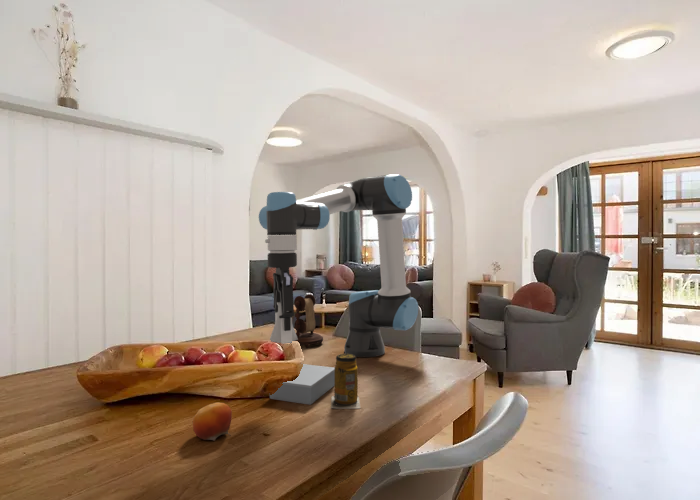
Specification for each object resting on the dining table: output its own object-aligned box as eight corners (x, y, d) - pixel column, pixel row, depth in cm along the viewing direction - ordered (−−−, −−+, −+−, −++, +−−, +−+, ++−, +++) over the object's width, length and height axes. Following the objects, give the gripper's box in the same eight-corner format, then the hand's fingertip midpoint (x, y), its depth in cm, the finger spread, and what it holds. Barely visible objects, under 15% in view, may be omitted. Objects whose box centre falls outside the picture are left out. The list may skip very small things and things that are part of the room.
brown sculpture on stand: (308, 350, 165) (308, 298, 164) (279, 345, 172) (278, 295, 172) (330, 342, 177) (330, 294, 177) (301, 338, 185) (301, 292, 185)
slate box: (297, 379, 129) (297, 363, 129) (336, 384, 125) (336, 367, 125) (268, 398, 114) (268, 380, 114) (311, 405, 109) (311, 385, 109)
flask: (302, 340, 112) (302, 302, 111) (277, 345, 107) (276, 305, 107) (289, 335, 118) (288, 299, 117) (265, 340, 113) (264, 302, 113)
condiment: (358, 396, 115) (358, 352, 115) (360, 409, 107) (360, 361, 107) (331, 397, 115) (331, 352, 115) (331, 409, 107) (331, 361, 106)
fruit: (216, 442, 86) (202, 404, 88) (194, 454, 90) (181, 417, 92) (246, 427, 93) (232, 392, 95) (224, 439, 96) (212, 405, 98)
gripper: (261, 251, 120) (263, 332, 121) (274, 253, 101) (276, 350, 102) (288, 250, 122) (289, 330, 123) (305, 252, 104) (307, 347, 105)
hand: (283, 339), depth 113 cm, fingers closed on flask, 7 cm apart
